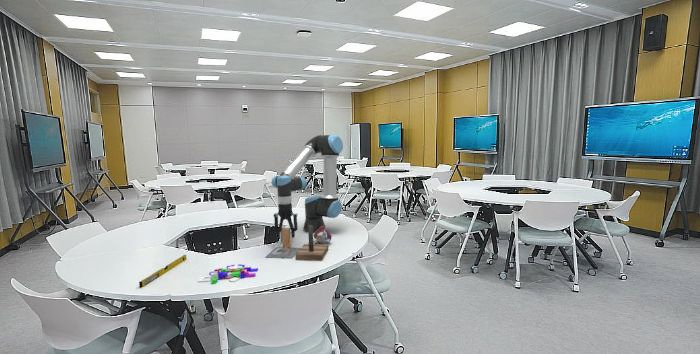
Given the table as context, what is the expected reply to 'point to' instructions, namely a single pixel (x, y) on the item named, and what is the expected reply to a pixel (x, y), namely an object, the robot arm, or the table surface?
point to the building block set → (229, 274)
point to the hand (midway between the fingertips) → (286, 242)
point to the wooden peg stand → (311, 249)
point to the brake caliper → (322, 236)
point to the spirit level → (162, 271)
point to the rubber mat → (283, 252)
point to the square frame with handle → (284, 244)
